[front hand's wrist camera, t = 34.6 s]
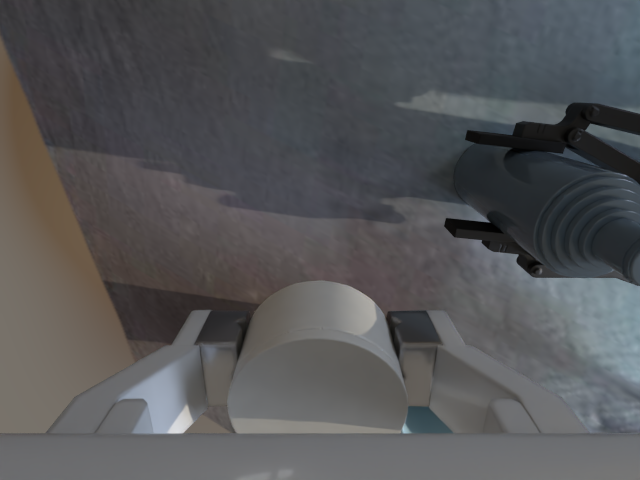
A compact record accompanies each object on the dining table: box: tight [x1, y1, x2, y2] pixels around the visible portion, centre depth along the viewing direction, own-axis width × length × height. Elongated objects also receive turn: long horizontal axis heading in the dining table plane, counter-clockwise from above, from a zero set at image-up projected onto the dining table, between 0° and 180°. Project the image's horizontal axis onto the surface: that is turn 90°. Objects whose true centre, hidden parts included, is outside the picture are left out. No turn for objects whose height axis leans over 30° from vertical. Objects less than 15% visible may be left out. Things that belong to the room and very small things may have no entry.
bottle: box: [454, 143, 640, 286], centre depth 27 cm, size 7×7×20 cm
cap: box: [228, 280, 408, 433], centre depth 9 cm, size 4×4×2 cm
